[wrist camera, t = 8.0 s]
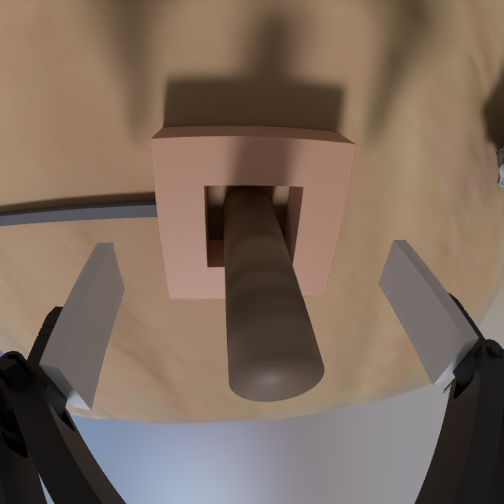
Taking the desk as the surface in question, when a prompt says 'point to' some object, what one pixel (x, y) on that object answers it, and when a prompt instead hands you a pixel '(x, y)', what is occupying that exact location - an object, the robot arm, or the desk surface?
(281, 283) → the dowel
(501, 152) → the mineral specimen
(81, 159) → the desk surface
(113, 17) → the desk surface
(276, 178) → the pink square frame
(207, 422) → the desk surface
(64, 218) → the strip
